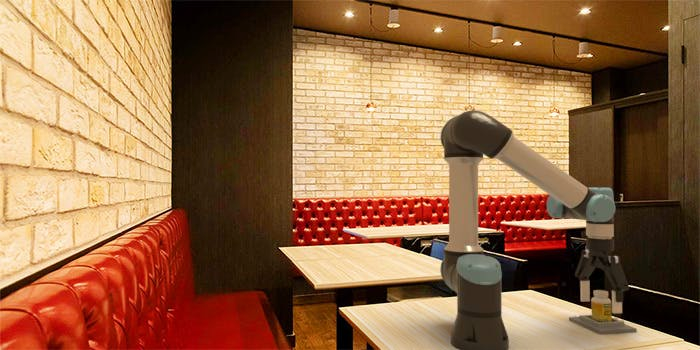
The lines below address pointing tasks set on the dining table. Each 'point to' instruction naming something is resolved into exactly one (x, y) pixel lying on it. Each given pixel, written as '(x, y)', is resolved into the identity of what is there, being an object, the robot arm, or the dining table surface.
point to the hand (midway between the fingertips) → (600, 306)
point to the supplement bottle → (601, 306)
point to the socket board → (603, 325)
